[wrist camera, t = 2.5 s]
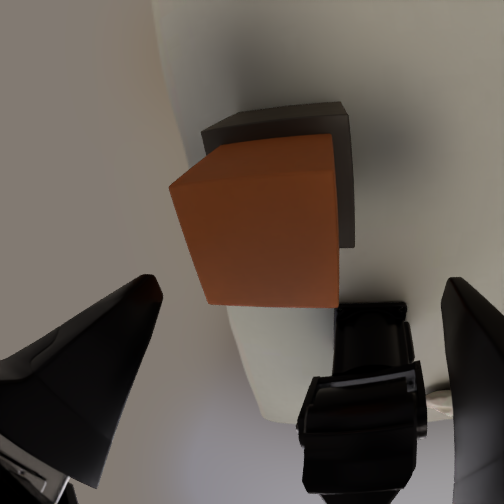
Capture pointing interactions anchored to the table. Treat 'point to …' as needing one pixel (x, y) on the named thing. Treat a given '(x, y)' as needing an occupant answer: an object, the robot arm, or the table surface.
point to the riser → (297, 124)
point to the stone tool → (440, 402)
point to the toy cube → (264, 222)
